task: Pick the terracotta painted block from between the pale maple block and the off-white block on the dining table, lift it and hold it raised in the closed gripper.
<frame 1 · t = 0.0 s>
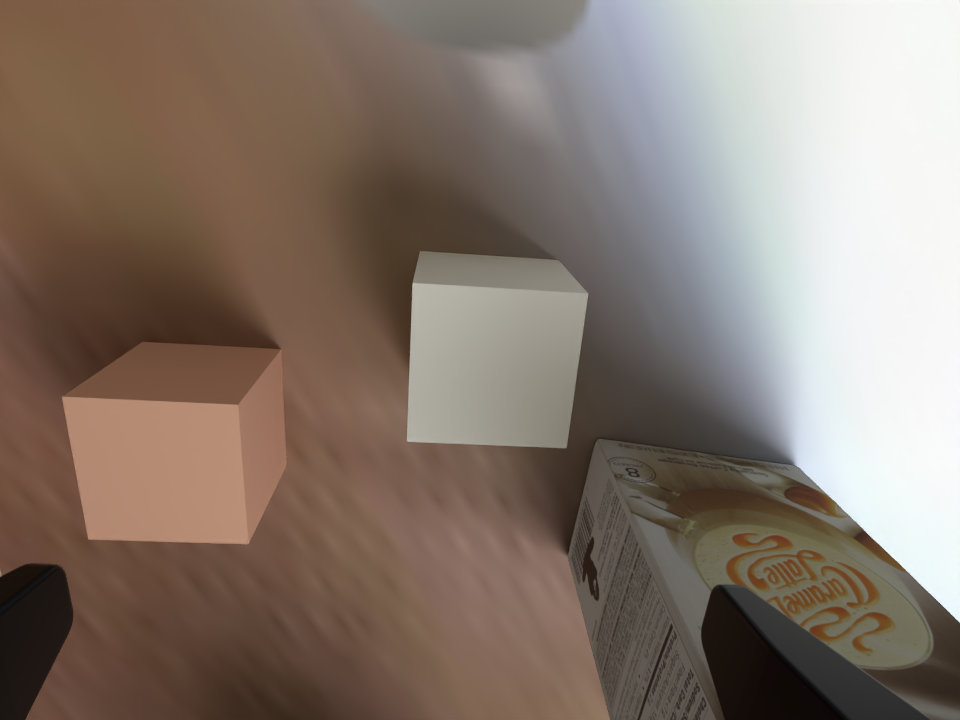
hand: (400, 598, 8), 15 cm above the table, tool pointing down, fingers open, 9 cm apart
terracotta block: (218, 405, 23), on the table
coffee box: (676, 508, 26), on the table
offwhite block: (484, 321, 22), on the table
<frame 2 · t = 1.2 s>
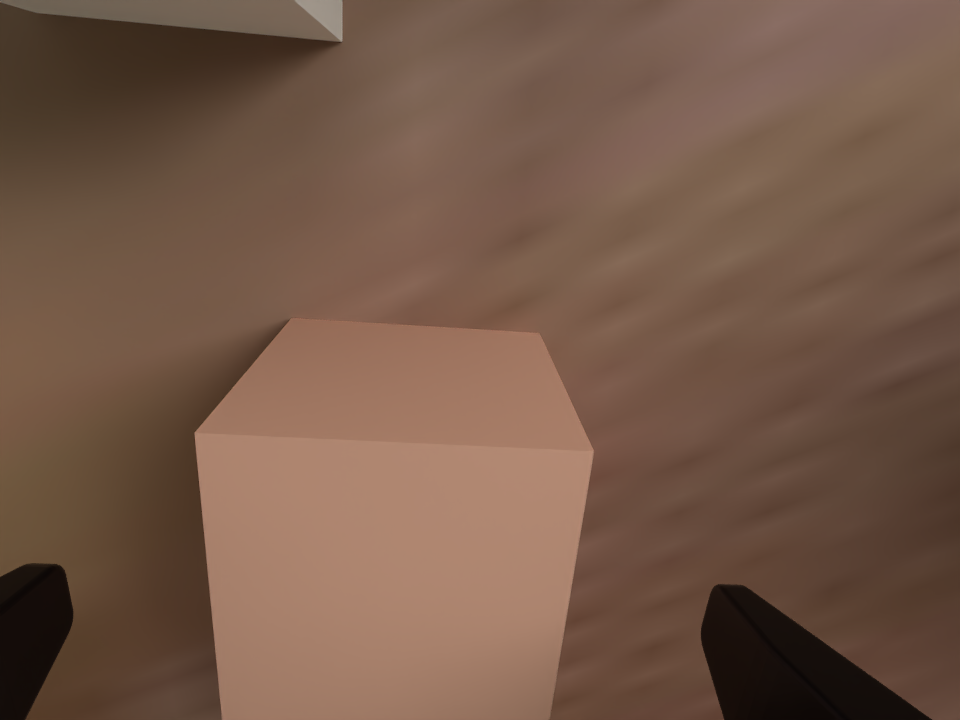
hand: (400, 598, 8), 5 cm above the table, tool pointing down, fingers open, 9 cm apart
terracotta block: (412, 433, 13), on the table
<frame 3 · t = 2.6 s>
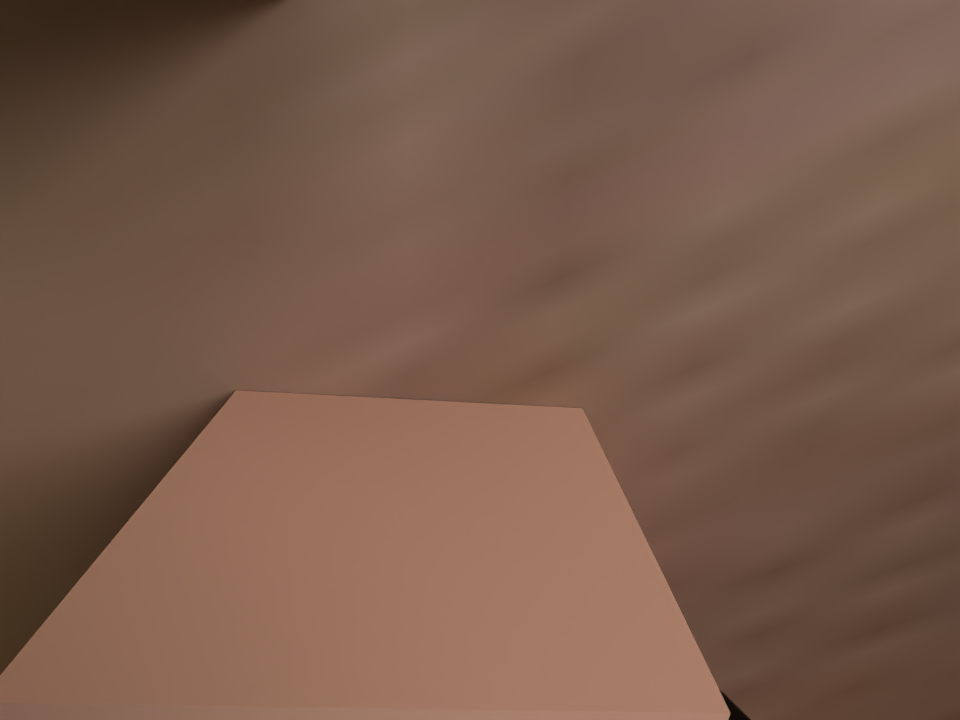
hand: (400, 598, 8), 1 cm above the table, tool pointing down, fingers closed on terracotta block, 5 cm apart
terracotta block: (406, 542, 10), on the table, touching gripper
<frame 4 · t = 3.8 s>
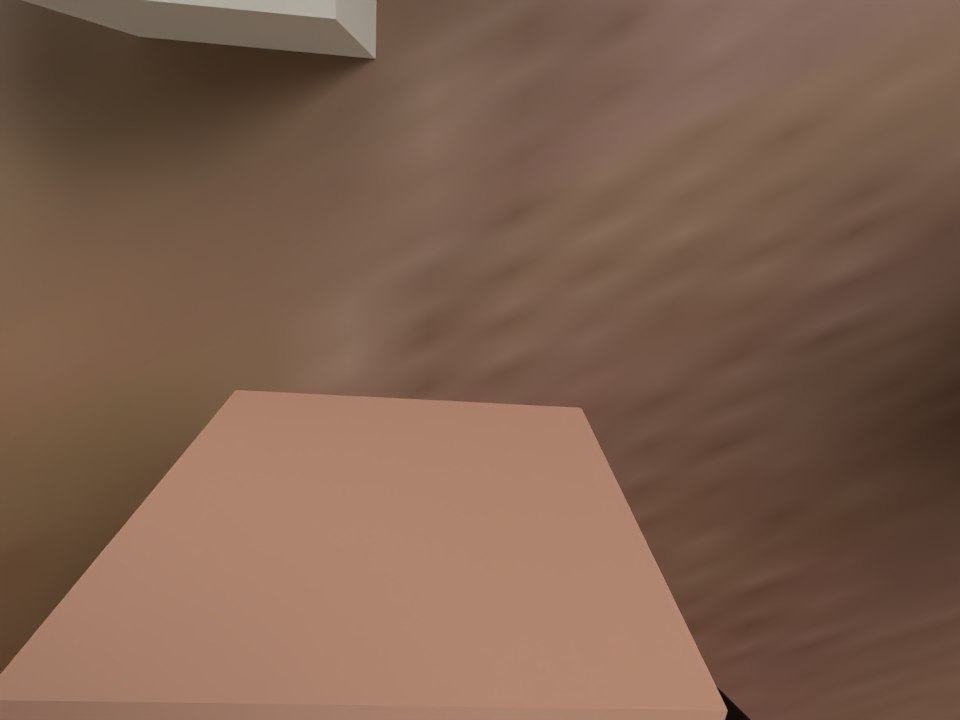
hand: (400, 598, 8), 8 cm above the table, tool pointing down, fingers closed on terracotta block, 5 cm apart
terracotta block: (406, 541, 10), point 7 cm above the table, touching gripper
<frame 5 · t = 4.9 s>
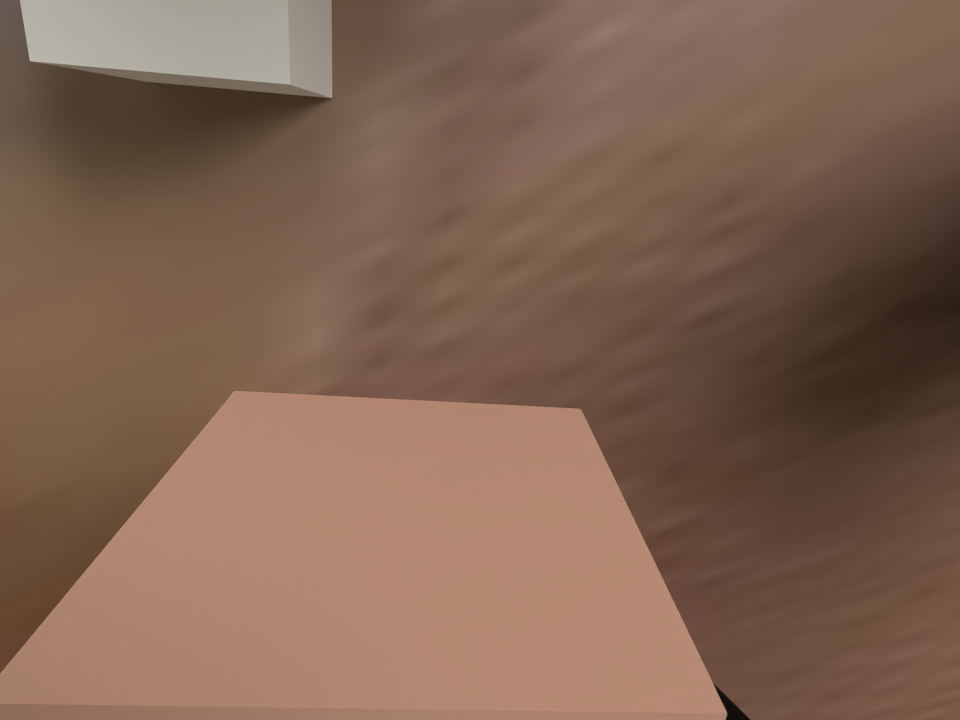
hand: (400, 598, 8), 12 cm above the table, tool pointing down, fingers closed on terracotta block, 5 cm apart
terracotta block: (405, 542, 10), point 10 cm above the table, touching gripper
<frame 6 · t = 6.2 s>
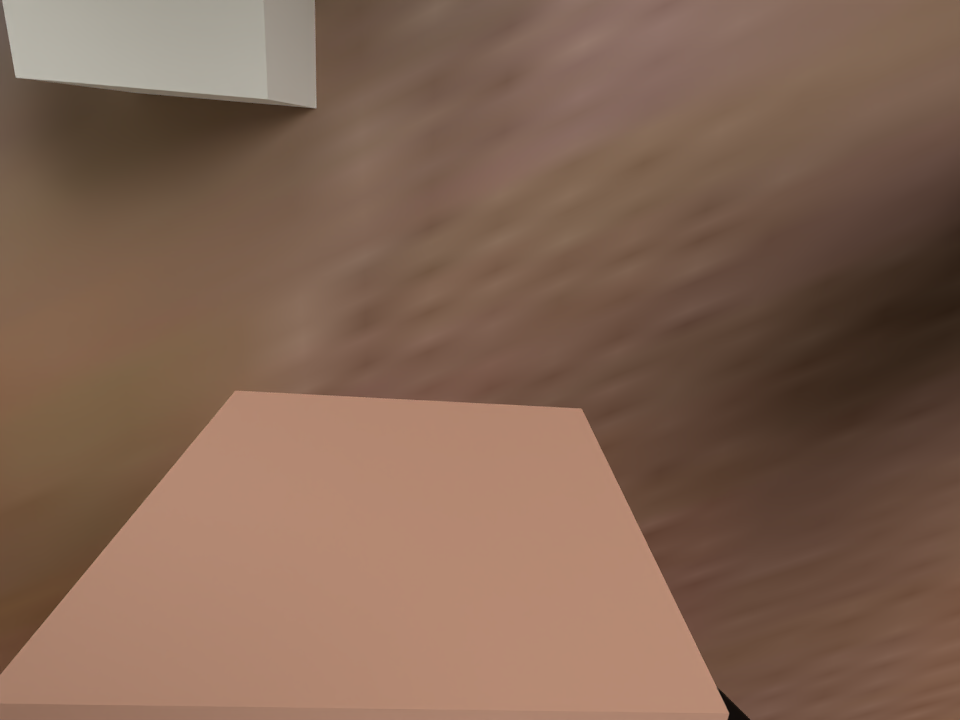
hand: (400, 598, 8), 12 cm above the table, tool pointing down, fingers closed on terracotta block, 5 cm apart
terracotta block: (405, 542, 10), point 11 cm above the table, touching gripper
offwhite block: (221, 0, 16), on the table
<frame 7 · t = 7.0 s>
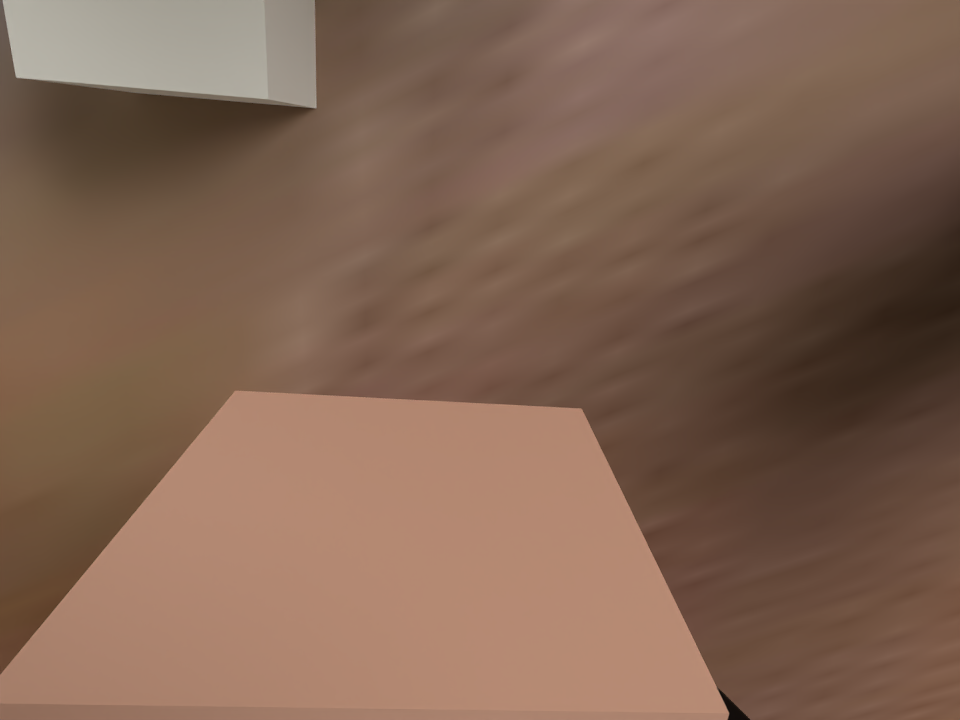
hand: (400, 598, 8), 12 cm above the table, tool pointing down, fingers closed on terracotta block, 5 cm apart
terracotta block: (405, 542, 10), point 11 cm above the table, touching gripper
offwhite block: (221, 0, 16), on the table
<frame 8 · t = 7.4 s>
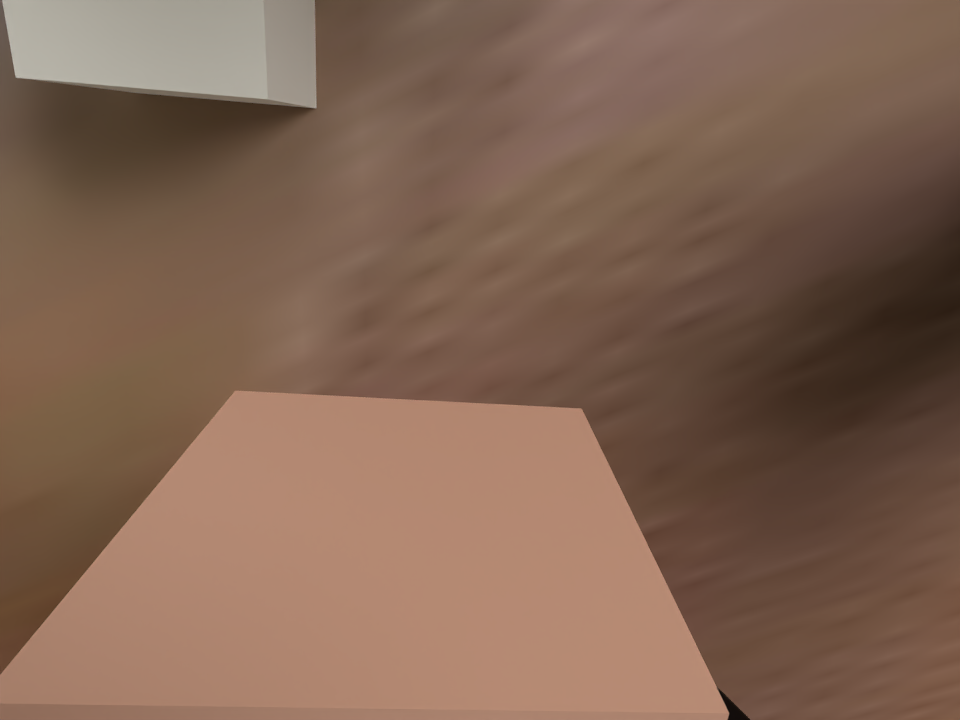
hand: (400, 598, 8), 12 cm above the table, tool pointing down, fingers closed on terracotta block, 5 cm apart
terracotta block: (405, 542, 10), point 11 cm above the table, touching gripper
offwhite block: (221, 0, 16), on the table
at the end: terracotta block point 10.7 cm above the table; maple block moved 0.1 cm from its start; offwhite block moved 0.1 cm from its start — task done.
